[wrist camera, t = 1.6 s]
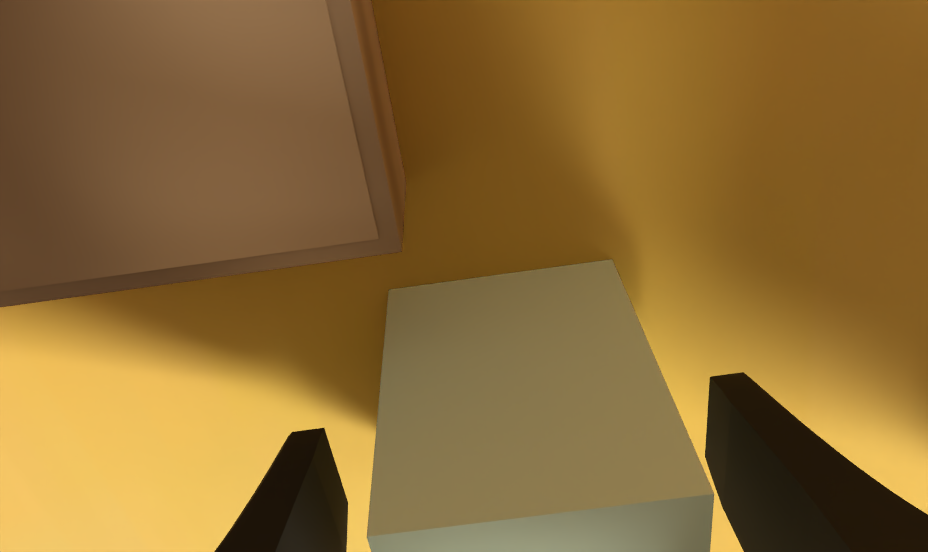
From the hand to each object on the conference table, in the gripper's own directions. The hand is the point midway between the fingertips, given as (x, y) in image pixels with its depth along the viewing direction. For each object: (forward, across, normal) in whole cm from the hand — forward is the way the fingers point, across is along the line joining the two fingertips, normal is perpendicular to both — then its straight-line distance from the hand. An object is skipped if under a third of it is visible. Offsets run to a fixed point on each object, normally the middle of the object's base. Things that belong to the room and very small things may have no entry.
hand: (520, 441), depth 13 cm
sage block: (+2, 0, 0) cm, 2 cm away
